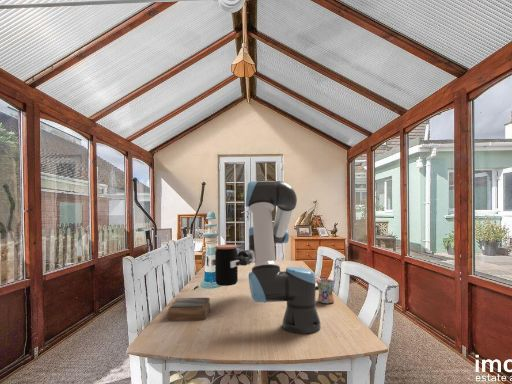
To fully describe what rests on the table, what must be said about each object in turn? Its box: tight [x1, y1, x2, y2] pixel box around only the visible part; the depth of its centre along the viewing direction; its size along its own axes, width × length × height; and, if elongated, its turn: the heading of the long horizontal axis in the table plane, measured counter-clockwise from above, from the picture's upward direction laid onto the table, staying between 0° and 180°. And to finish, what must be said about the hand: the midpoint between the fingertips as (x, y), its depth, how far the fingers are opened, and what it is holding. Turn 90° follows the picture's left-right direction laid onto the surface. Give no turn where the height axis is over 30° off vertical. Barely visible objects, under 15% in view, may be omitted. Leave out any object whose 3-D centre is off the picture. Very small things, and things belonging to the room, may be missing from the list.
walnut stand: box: [167, 297, 211, 321], centre depth 150 cm, size 16×16×5 cm
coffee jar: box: [214, 244, 239, 287], centre depth 158 cm, size 11×11×18 cm
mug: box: [316, 278, 336, 304], centre depth 168 cm, size 12×9×11 cm
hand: (221, 263), depth 155 cm, fingers closed on coffee jar, 11 cm apart
